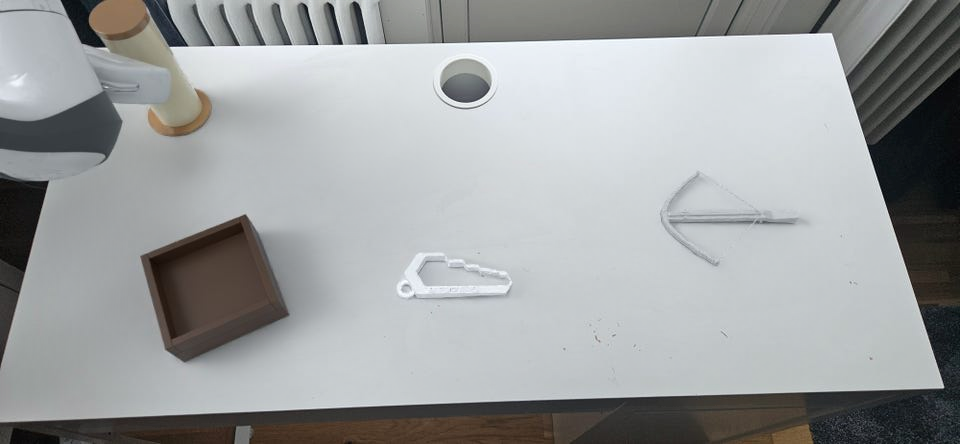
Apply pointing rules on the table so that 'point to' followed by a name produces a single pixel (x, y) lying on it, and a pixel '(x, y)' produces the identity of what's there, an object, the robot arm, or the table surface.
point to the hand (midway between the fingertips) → (127, 64)
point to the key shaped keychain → (447, 291)
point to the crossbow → (718, 218)
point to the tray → (212, 288)
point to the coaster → (184, 129)
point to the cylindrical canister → (146, 54)
